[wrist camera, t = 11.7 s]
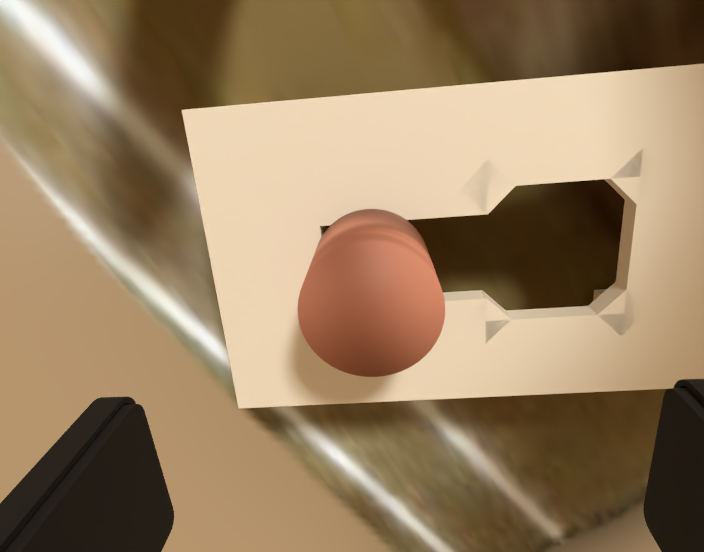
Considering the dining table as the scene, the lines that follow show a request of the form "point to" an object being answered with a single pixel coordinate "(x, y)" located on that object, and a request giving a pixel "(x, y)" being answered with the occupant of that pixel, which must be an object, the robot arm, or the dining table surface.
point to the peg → (371, 295)
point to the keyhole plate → (461, 200)
